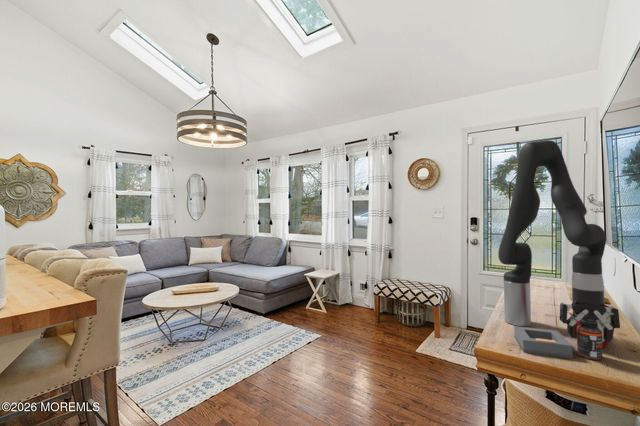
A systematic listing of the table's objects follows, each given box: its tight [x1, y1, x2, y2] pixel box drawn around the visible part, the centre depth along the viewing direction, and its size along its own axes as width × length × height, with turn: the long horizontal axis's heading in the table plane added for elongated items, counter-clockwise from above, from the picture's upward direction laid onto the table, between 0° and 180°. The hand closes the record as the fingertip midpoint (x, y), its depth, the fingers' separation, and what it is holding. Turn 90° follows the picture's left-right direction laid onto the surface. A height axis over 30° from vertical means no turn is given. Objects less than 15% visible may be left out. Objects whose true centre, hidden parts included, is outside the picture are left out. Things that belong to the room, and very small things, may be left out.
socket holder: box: [513, 325, 574, 359], centre depth 102 cm, size 13×13×4 cm
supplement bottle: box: [576, 319, 604, 361], centre depth 95 cm, size 6×6×11 cm
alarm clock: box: [567, 296, 615, 349], centre depth 104 cm, size 15×9×20 cm, turn 114°
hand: (589, 338), depth 94 cm, fingers open, 8 cm apart
